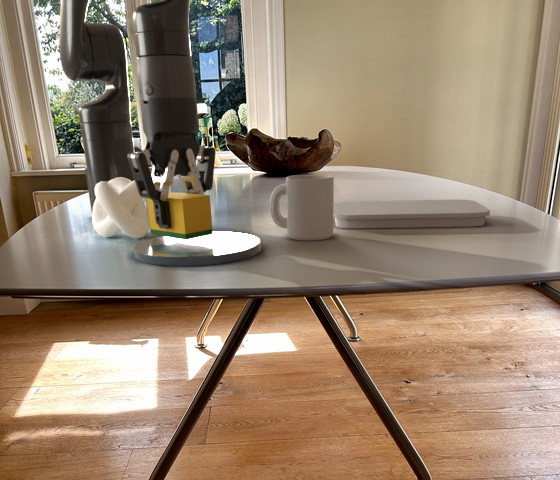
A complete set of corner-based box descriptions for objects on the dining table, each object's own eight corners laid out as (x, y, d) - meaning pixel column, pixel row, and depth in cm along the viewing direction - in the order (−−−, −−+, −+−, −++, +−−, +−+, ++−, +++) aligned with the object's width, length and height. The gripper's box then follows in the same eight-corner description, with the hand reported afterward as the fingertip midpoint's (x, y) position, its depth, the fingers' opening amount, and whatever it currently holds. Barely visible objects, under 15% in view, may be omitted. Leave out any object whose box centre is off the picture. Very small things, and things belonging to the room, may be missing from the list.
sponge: (151, 234, 88) (146, 195, 85) (177, 229, 91) (174, 192, 89) (186, 240, 83) (182, 199, 80) (212, 234, 86) (209, 195, 84)
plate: (109, 255, 85) (108, 246, 85) (204, 235, 97) (203, 227, 97) (191, 273, 74) (190, 263, 73) (287, 248, 86) (286, 239, 85)
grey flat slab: (331, 214, 113) (331, 201, 112) (470, 211, 111) (471, 199, 110) (331, 229, 98) (332, 215, 97) (493, 226, 96) (494, 212, 95)
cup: (330, 241, 90) (330, 179, 86) (265, 240, 92) (263, 179, 88) (335, 232, 96) (336, 174, 93) (275, 231, 98) (273, 175, 94)
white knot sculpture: (157, 242, 93) (151, 182, 89) (80, 244, 93) (71, 184, 89) (169, 229, 103) (164, 175, 100) (100, 231, 103) (92, 177, 100)
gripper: (191, 97, 87) (201, 216, 93) (105, 97, 77) (123, 230, 84) (226, 94, 82) (234, 220, 89) (140, 94, 72) (156, 235, 79)
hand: (180, 224), depth 86 cm, fingers closed on sponge, 5 cm apart
